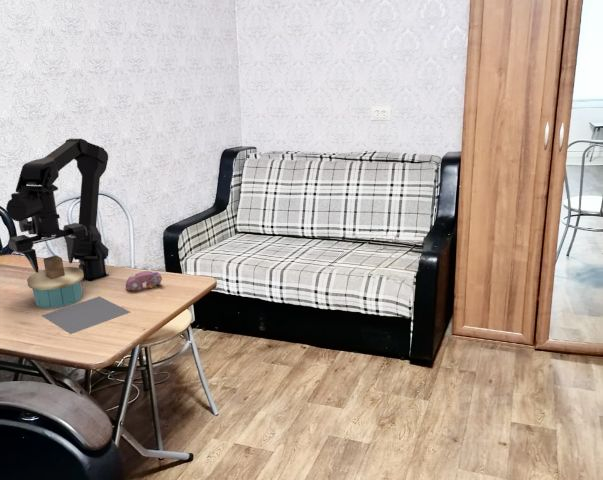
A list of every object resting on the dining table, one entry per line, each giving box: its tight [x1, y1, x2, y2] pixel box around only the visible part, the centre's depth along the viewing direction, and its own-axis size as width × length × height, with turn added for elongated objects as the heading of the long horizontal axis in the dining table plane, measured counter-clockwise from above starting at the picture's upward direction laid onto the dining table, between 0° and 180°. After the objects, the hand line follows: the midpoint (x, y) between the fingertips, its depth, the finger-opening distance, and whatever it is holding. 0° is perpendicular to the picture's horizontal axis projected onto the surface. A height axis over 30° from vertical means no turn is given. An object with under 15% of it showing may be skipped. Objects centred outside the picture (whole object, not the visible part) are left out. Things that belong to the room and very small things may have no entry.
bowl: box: [32, 280, 83, 309], centre depth 157 cm, size 12×12×6 cm
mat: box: [41, 296, 131, 335], centre depth 148 cm, size 16×16×1 cm
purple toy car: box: [125, 270, 163, 292], centre depth 163 cm, size 10×5×7 cm, turn 118°
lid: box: [26, 254, 84, 290], centre depth 155 cm, size 14×14×6 cm
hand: (54, 267), depth 155 cm, fingers open, 9 cm apart
